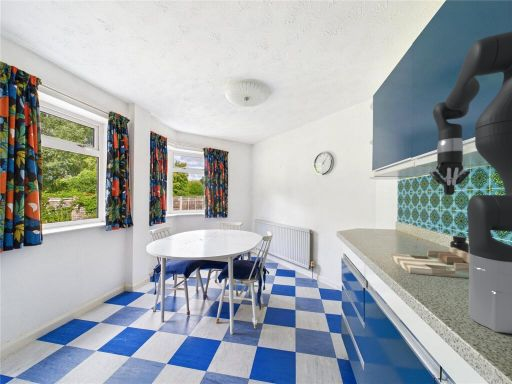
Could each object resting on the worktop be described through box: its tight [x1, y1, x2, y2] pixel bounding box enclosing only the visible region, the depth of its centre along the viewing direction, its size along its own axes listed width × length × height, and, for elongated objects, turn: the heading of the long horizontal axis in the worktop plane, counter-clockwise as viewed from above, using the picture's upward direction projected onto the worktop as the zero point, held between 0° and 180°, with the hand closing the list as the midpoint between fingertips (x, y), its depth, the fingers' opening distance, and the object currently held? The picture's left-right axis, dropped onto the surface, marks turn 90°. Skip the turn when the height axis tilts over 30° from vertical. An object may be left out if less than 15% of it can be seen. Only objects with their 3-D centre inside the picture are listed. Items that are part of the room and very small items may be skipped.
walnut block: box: [438, 253, 463, 265], centre depth 94 cm, size 6×6×4 cm
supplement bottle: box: [449, 235, 469, 253], centre depth 106 cm, size 7×7×12 cm
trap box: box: [390, 246, 469, 279], centre depth 95 cm, size 20×27×8 cm
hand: (449, 194), depth 84 cm, fingers closed
